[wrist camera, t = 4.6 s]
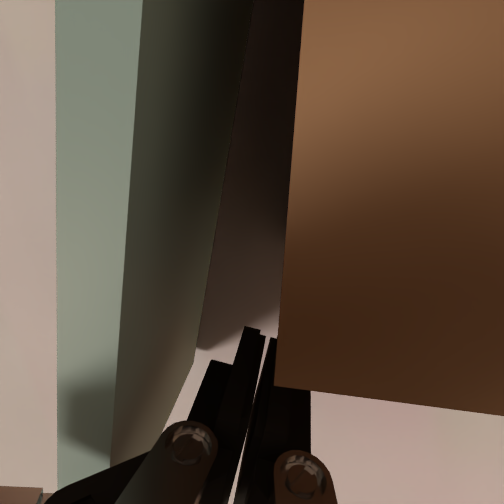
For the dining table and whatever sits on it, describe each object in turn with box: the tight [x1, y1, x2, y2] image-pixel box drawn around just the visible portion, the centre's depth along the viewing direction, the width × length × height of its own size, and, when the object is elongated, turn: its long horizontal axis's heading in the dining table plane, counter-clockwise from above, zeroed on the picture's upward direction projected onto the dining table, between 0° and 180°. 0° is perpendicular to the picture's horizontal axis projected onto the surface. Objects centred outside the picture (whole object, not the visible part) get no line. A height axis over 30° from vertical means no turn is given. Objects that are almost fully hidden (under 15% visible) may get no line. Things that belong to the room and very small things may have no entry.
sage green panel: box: [55, 0, 254, 490], centre depth 9 cm, size 23×2×8 cm, turn 169°
